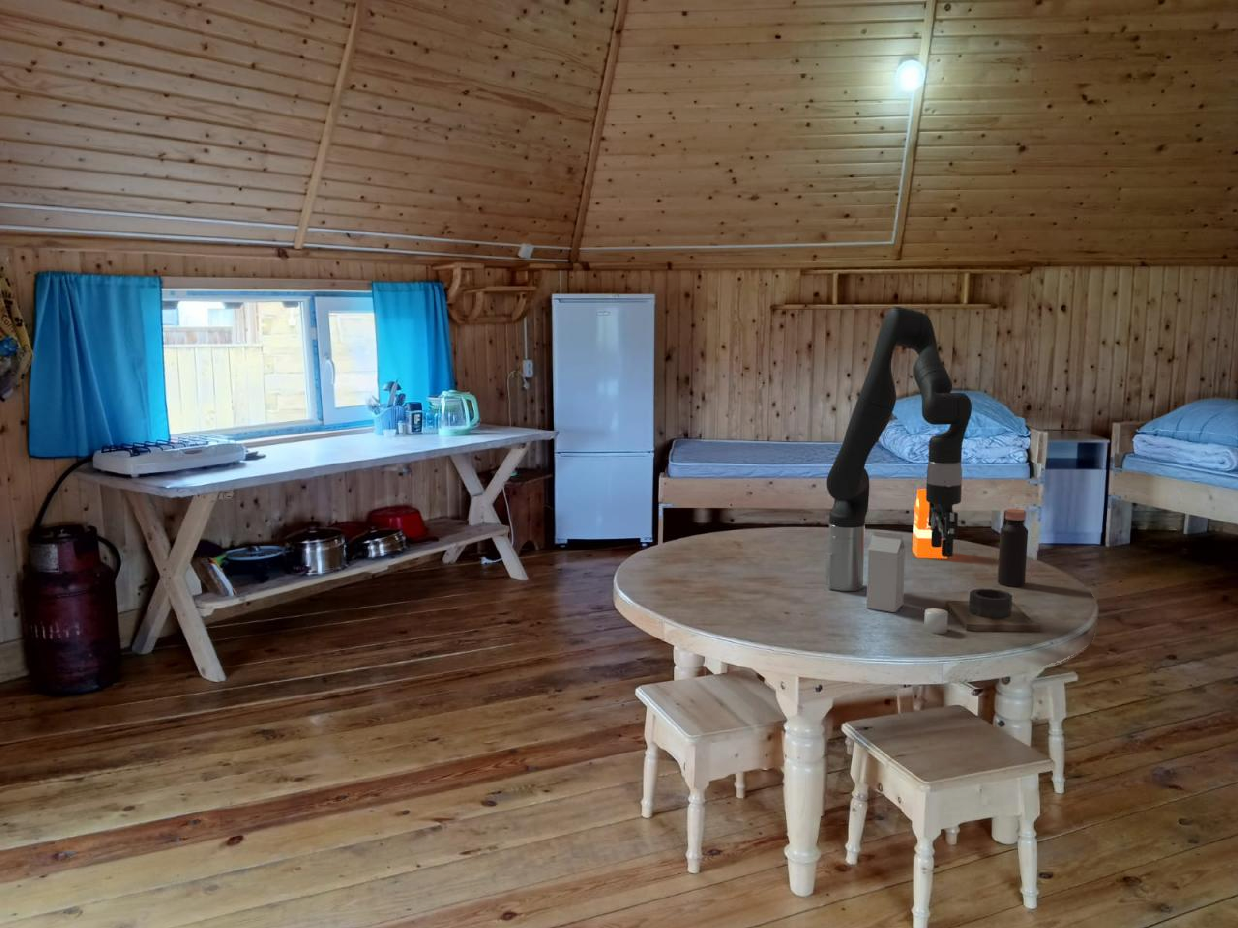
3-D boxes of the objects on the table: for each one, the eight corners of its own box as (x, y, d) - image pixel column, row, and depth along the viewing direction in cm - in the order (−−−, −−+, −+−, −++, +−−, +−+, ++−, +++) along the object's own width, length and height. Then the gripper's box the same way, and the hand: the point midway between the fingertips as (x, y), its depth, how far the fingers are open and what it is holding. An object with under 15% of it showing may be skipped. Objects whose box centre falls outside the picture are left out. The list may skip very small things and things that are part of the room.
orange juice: (912, 551, 288) (915, 487, 285) (942, 552, 287) (945, 487, 284) (916, 557, 281) (919, 491, 278) (947, 558, 280) (950, 492, 276)
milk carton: (894, 612, 230) (898, 537, 227) (866, 608, 233) (868, 533, 230) (903, 605, 236) (906, 531, 233) (874, 600, 239) (877, 527, 236)
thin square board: (966, 630, 217) (967, 605, 216) (945, 606, 234) (946, 583, 233) (1037, 631, 216) (1039, 606, 215) (1011, 607, 233) (1012, 583, 232)
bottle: (993, 580, 257) (998, 508, 254) (1019, 580, 257) (1023, 508, 254) (1003, 587, 250) (1007, 513, 247) (1029, 587, 250) (1033, 513, 247)
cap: (927, 633, 215) (927, 614, 214) (921, 626, 220) (922, 607, 219) (949, 634, 215) (950, 615, 214) (943, 626, 219) (944, 608, 219)
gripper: (918, 476, 219) (916, 544, 222) (935, 487, 205) (933, 559, 208) (951, 476, 219) (949, 544, 221) (971, 486, 205) (968, 559, 207)
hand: (941, 551), depth 214 cm, fingers open, 8 cm apart
